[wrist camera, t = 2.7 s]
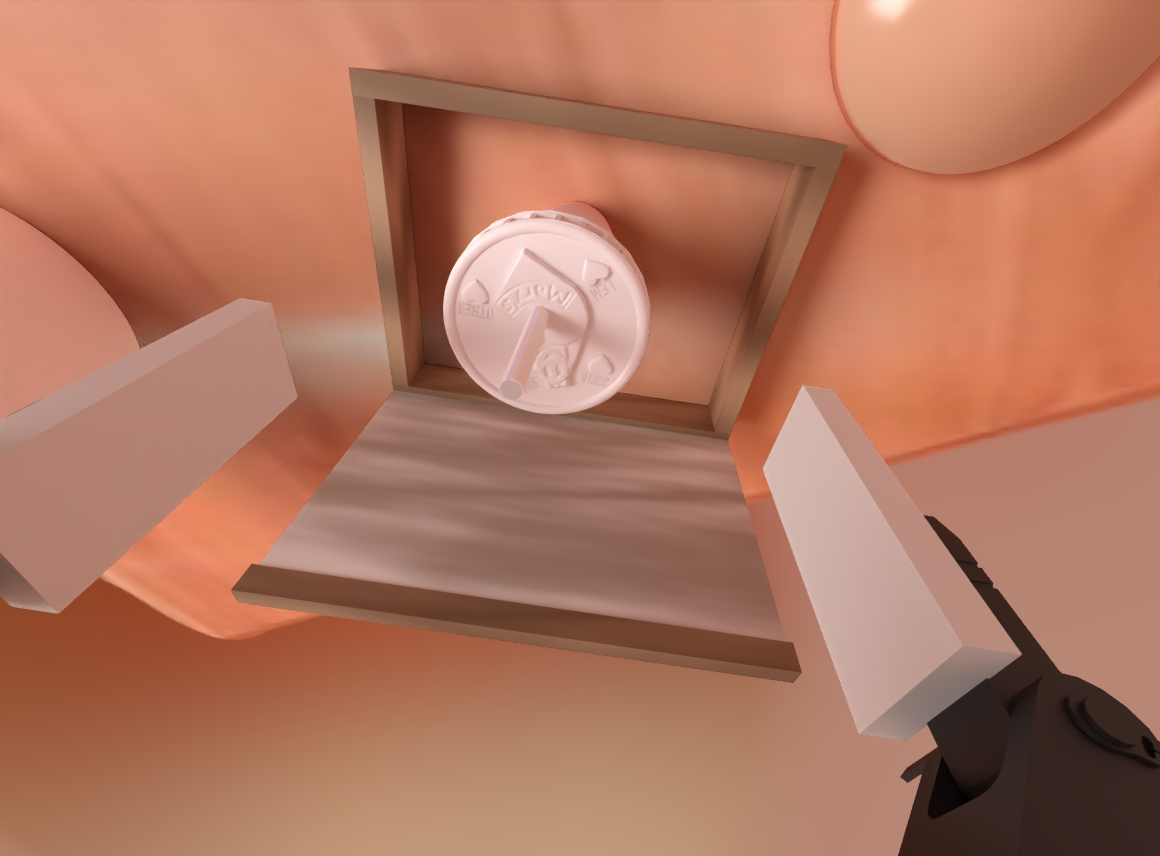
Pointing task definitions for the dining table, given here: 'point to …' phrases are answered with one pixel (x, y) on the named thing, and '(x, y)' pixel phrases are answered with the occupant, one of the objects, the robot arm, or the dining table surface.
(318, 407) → the dining table surface
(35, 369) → the canister
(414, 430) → the box
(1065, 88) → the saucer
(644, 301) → the smoothie
